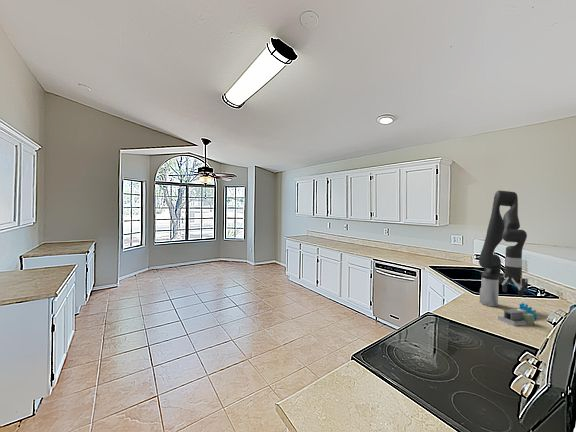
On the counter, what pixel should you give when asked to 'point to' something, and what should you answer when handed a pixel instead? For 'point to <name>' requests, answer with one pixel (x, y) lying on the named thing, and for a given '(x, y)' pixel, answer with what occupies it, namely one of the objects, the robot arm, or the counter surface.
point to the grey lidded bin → (513, 315)
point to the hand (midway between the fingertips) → (512, 294)
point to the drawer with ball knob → (526, 319)
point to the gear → (528, 310)
